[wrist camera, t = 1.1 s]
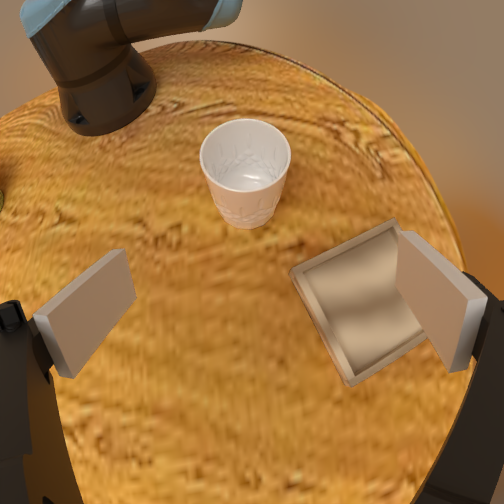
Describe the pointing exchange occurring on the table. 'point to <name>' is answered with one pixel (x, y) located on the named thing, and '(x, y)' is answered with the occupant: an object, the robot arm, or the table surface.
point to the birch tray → (359, 303)
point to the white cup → (245, 170)
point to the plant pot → (1, 200)
